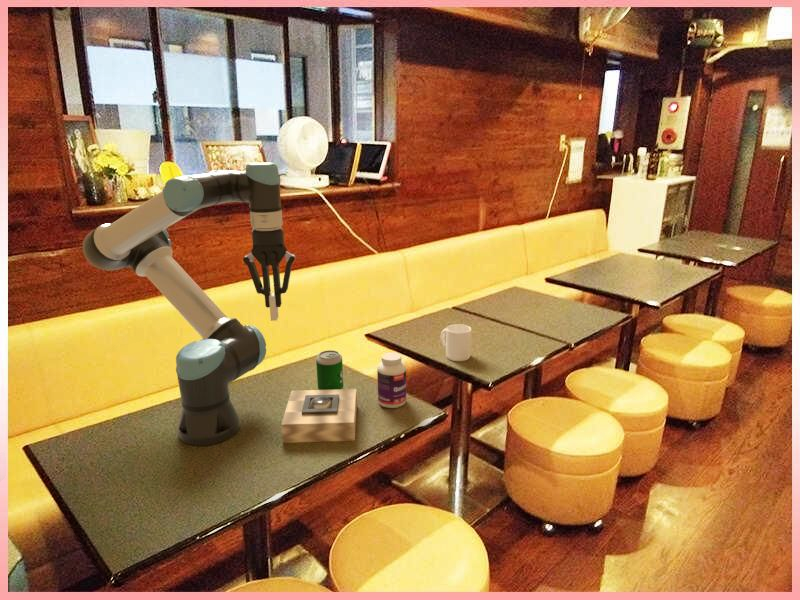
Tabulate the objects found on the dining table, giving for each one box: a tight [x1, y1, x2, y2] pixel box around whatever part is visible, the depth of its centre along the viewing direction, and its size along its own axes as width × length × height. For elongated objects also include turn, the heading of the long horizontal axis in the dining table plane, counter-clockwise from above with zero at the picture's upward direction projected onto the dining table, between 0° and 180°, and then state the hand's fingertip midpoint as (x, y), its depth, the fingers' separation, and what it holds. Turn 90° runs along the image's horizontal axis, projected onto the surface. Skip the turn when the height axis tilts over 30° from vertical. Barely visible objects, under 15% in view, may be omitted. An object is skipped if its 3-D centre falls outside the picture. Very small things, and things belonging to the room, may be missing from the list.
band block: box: [280, 388, 358, 444], centre depth 148 cm, size 18×18×6 cm
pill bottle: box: [376, 352, 407, 409], centre depth 157 cm, size 8×8×14 cm
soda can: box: [315, 349, 344, 390], centre depth 165 cm, size 8×8×12 cm
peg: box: [311, 397, 331, 409], centre depth 148 cm, size 5×5×6 cm
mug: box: [440, 323, 472, 362], centre depth 189 cm, size 12×8×10 cm
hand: (274, 318), depth 144 cm, fingers closed
